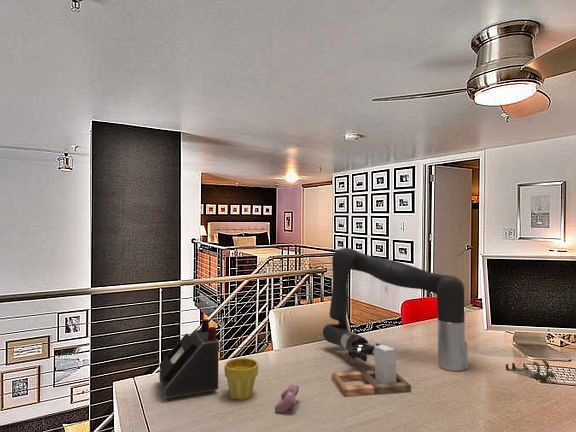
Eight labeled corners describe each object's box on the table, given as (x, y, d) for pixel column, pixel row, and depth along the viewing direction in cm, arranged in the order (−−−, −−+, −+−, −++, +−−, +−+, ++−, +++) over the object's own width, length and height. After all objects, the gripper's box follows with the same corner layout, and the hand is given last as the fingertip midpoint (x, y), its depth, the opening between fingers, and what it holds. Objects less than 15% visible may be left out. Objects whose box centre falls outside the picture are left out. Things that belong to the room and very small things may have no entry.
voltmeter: (158, 383, 130) (159, 322, 131) (207, 375, 137) (208, 318, 137) (163, 403, 115) (164, 335, 116) (218, 393, 122) (218, 329, 122)
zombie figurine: (513, 350, 144) (557, 363, 131) (513, 368, 144) (557, 384, 131) (504, 352, 142) (548, 365, 129) (504, 371, 142) (548, 386, 128)
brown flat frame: (392, 375, 137) (392, 369, 137) (411, 391, 123) (411, 385, 123) (331, 378, 134) (331, 373, 134) (343, 396, 120) (343, 390, 120)
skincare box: (397, 386, 128) (396, 348, 128) (386, 388, 126) (386, 350, 126) (384, 379, 133) (384, 343, 133) (374, 381, 131) (373, 345, 131)
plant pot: (256, 402, 116) (256, 369, 116) (221, 402, 116) (221, 369, 116) (259, 388, 126) (259, 357, 126) (227, 388, 126) (227, 357, 126)
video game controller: (287, 420, 108) (298, 398, 108) (272, 411, 109) (283, 389, 109) (293, 404, 118) (303, 384, 118) (280, 396, 119) (290, 376, 118)
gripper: (337, 335, 147) (358, 348, 132) (370, 332, 152) (394, 344, 137) (337, 355, 147) (358, 370, 132) (370, 351, 152) (395, 366, 136)
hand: (377, 357), depth 134 cm, fingers open, 8 cm apart
